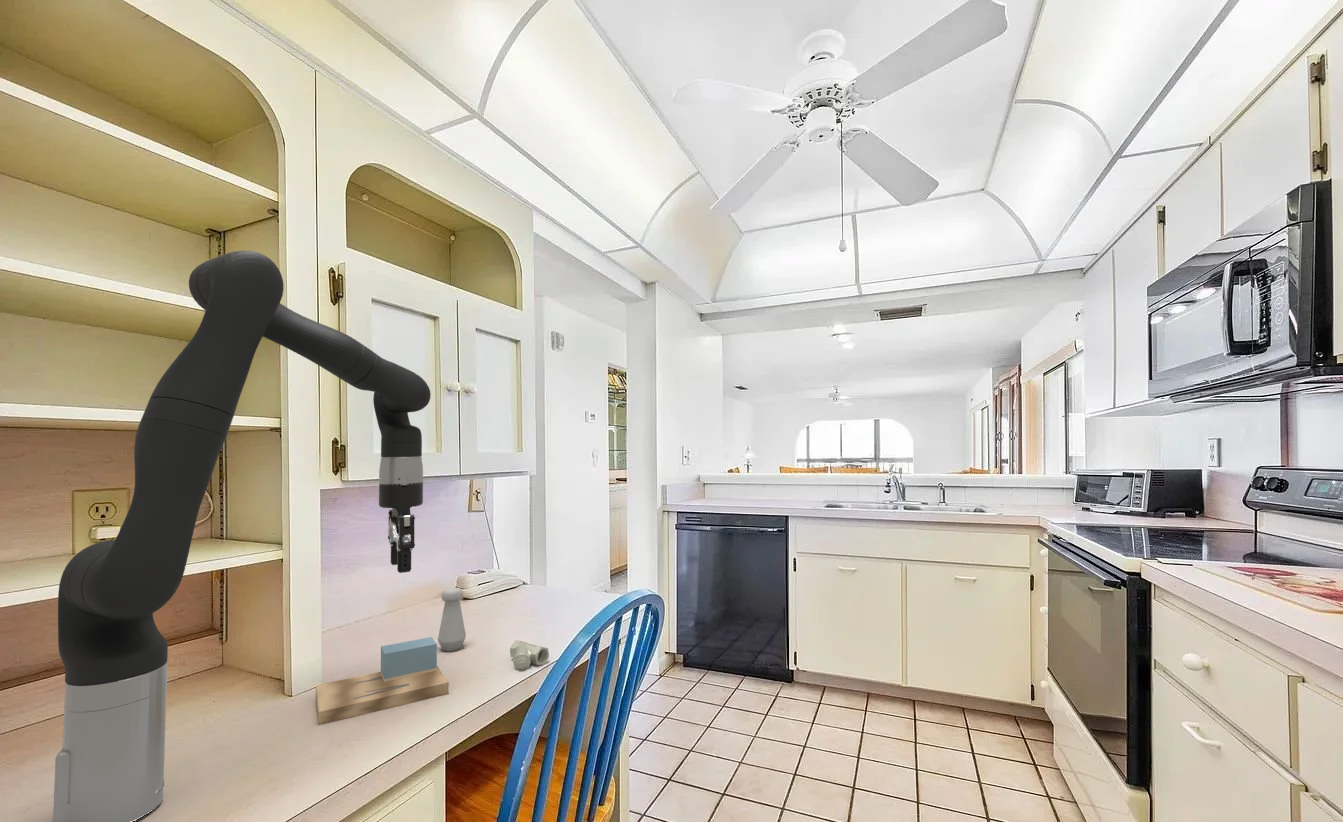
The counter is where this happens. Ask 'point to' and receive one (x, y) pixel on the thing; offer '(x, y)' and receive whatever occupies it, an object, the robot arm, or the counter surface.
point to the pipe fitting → (528, 654)
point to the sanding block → (408, 659)
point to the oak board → (374, 694)
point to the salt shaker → (451, 621)
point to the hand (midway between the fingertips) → (400, 568)
